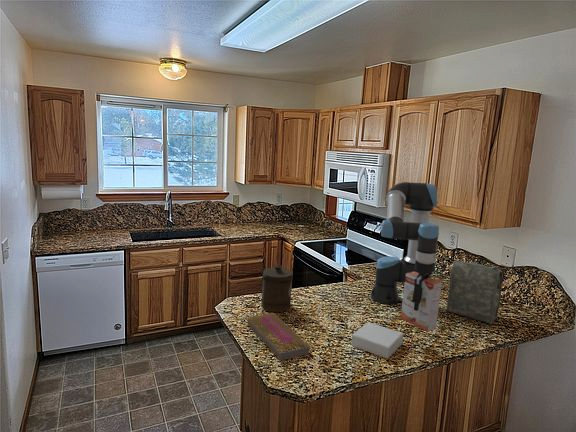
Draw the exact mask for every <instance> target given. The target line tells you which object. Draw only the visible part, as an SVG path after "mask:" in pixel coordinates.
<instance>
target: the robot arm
mask: <svg viewBox="0 0 576 432" xmlns="http://www.w3.org/2000/svg"><path fill="white" fill-rule="evenodd" d="M385 201H386V204H387V206H386V207H387V209H386V210H387V211H386V219H384V220H382V222H381V229H380V230H381V232H380V235H381V237H383V238H387V239H398V240H408V245H407V255H406V256H405V257H403V260H401V259H400V258H399V257H397V256H391V255H390V256H389V255H388V256H382V257H380V258H378V259H377V261H376V266H375V268H376V271H375V281H374V285H373V287H372V289H371V292H370V299H371V300H372V301H374V302H376V303H379V304H383V305H393V304H394V305H395V304H397V303H399V302H400V301H399V300H400V296H399V291H398V287H397V286H398V284H399V283H400V284H405V276H406V273H410V272H417V273H419V274H418V275H417V278H418V279H417V278H415V286H414V292H413V299H412V302H414V305H413V314H412V316H413V317H416V318H419V317H420V308H421V303H420V301H421V297H422V282H423V280H424V279H426V280H427V279H428V278H432V273H434V271H435V266H436V264H435V262H436V258H438V256H437V249H438V248H437V247H438V243H439V242H438V240H439V235H440V231H439V230H440V226H439V225H438V224H436V223H433V222H429V221H430V220H429V218H430V214H431V213H432V212H433V211H434V208H436V207H437V205H438V191H437V187H436V185H435V184H434V183H427V182H408V181H401V182H399V183H396V184H395V185H393V186H391V188H389V190H388V191H387V192H386V196H385ZM405 206H409V207H408V209H409V210H410V211H411V217H410V221H405V218H404V217H405V216H404V215H405V212H404V211H405Z"/></svg>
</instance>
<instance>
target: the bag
mask: <svg viewBox="0 0 576 432" xmlns="http://www.w3.org/2000/svg"><path fill="white" fill-rule="evenodd" d="M503 276H504V272H503V270H502V269H499V268H497V266H488V265H484V264H480V263H478V262H468V261H465V260H464V261H459V260H457V259H456V260H454V261H453V263H452V267H451V272H450V278H449V285H448V286H449V287H448V298H447V303H446V304H447V305H446V310H445V311H446V312H450V313H453V314H457V315H459V316H463V317H467V318H469V319H473V320H477V321H480V322H484V323H487V324H488V325H492V324H493V323H494V321H495V320H496V319H497V318H498V315H499V308H500V304H501V297H502V290H503V289H502V287H503Z"/></svg>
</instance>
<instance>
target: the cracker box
mask: <svg viewBox="0 0 576 432" xmlns="http://www.w3.org/2000/svg"><path fill="white" fill-rule="evenodd" d="M418 274H419V273H417V272H410V273H406V276H405V283H404V286H403V294H402V303H401V304H402V305H401V311H400V319H401V320H403V321H405V322H406V323H408V324H411V325H412V326H415V327H417V328H419V329H420V330H423V331H424V332H426V333H429V332H432V331H434V330H437V324H438V323H437V322H438V317H439V308H440V303H441V295H442V294H441V293H442V287H443V282H442V281H440V280H437V279H436V278H435V279H434V278H433V277H431V278H428V279H427V280H426V279H424V280H423V282H422V297H421V301H420V303H421V308H420V317H419V318H416V317H413V316H412V314H413V305H414V302H412V299H413V292H414V286H415V278H417V275H418ZM417 279H418V278H417Z"/></svg>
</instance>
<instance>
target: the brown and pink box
mask: <svg viewBox="0 0 576 432" xmlns="http://www.w3.org/2000/svg"><path fill="white" fill-rule="evenodd" d="M275 313H276V312H275ZM275 313H274V312H271V313H270V312H268V313H267V314H266V313H264V314H263V313H262V314H261V315H260V314H259V315H258V314H257V315H254V316H251V315H250V316H246V317H245V318H244V319H246V320H247V325H248V326H249V327H250V329H252V331H253V332H254V333H255V335H257V336H258V337H259V338H260V340H261V341H262V342H263V343H264V344H265V345H266V346H267V347H268V349H270V350H271V351H272V352H273V353H274V355H275V356H276V357H277V358H278V359H279V360H280V361H285V360H288V359H293V358H296V357H301V356H305V355H308V354H310V348H313V347H314V346H312V345H311V344H310V343H309V342H307V341H306V340H305V339H303V337H302V336H300V335H299V333H297V332H296V331H294V329H292V327H290V325H288V324H287V323H286V322H285V321H284V320H282V319H281V317H279V316H278V314H275Z"/></svg>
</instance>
